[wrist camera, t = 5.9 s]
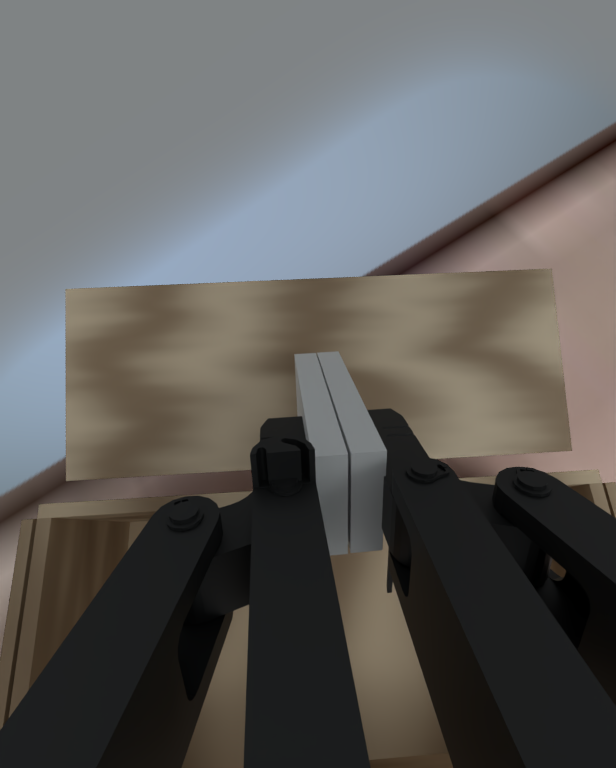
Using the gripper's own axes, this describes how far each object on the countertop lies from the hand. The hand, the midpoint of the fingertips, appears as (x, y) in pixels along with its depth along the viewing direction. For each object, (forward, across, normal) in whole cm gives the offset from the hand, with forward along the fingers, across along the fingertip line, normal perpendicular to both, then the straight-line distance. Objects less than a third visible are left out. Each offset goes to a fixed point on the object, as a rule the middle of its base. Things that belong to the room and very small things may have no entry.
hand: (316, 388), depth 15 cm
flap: (-1, 0, +3) cm, 3 cm away
